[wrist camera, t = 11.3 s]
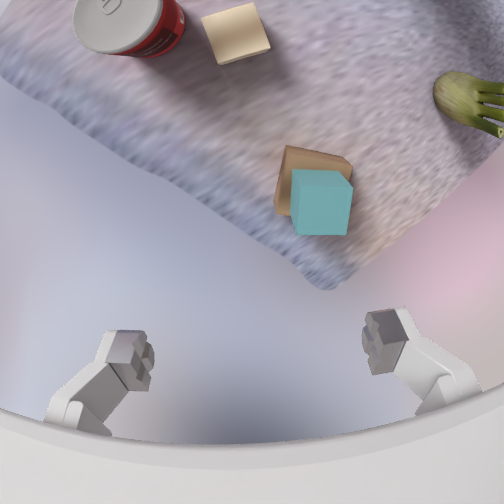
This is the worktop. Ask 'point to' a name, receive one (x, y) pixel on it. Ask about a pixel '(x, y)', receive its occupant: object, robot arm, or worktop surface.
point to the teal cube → (320, 202)
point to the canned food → (128, 26)
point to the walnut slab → (307, 161)
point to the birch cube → (236, 33)
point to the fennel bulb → (470, 101)
